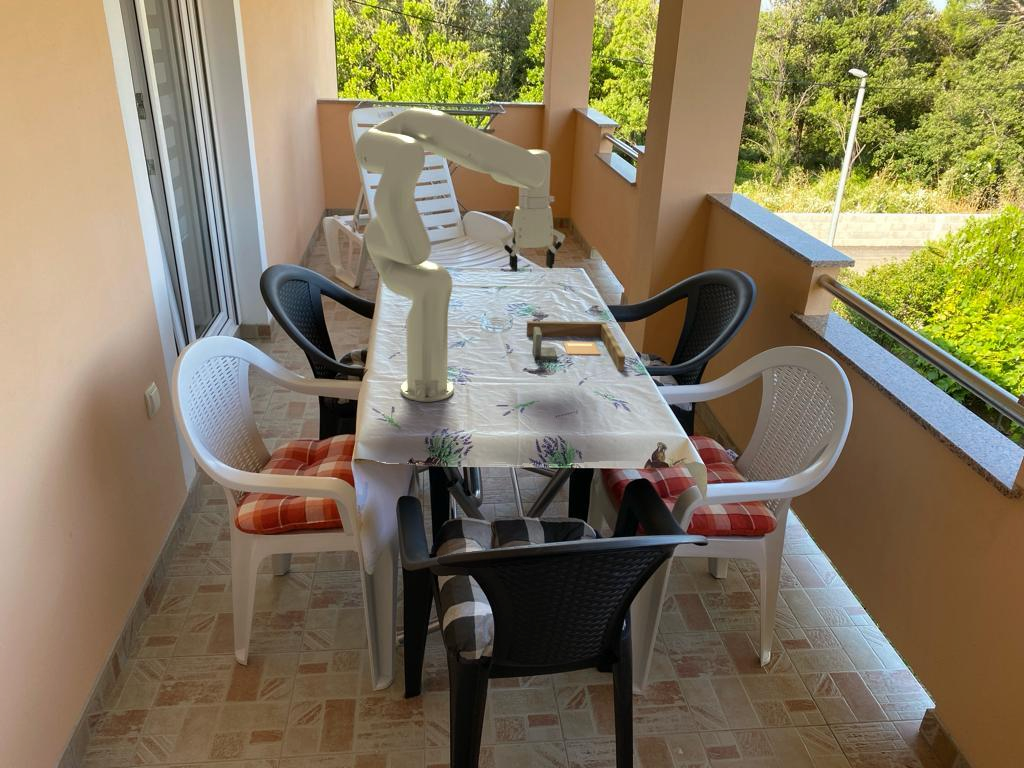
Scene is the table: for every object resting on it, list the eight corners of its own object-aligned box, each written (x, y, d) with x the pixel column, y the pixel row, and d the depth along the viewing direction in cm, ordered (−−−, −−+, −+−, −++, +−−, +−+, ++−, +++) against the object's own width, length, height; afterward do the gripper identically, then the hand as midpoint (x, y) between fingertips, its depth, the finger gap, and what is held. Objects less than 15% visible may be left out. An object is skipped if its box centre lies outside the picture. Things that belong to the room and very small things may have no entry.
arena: (623, 370, 194) (625, 356, 192) (536, 370, 192) (537, 355, 190) (604, 335, 218) (605, 322, 216) (526, 334, 216) (527, 321, 214)
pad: (599, 355, 203) (600, 353, 203) (567, 354, 202) (567, 353, 202) (594, 343, 211) (594, 341, 211) (562, 342, 211) (562, 341, 210)
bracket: (532, 352, 203) (533, 326, 200) (554, 352, 203) (555, 327, 200) (534, 361, 197) (536, 334, 194) (557, 361, 198) (558, 334, 195)
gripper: (561, 197, 190) (557, 262, 198) (496, 200, 185) (495, 266, 193) (571, 203, 184) (568, 270, 191) (505, 206, 179) (504, 275, 186)
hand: (531, 268), depth 192 cm, fingers open, 9 cm apart
